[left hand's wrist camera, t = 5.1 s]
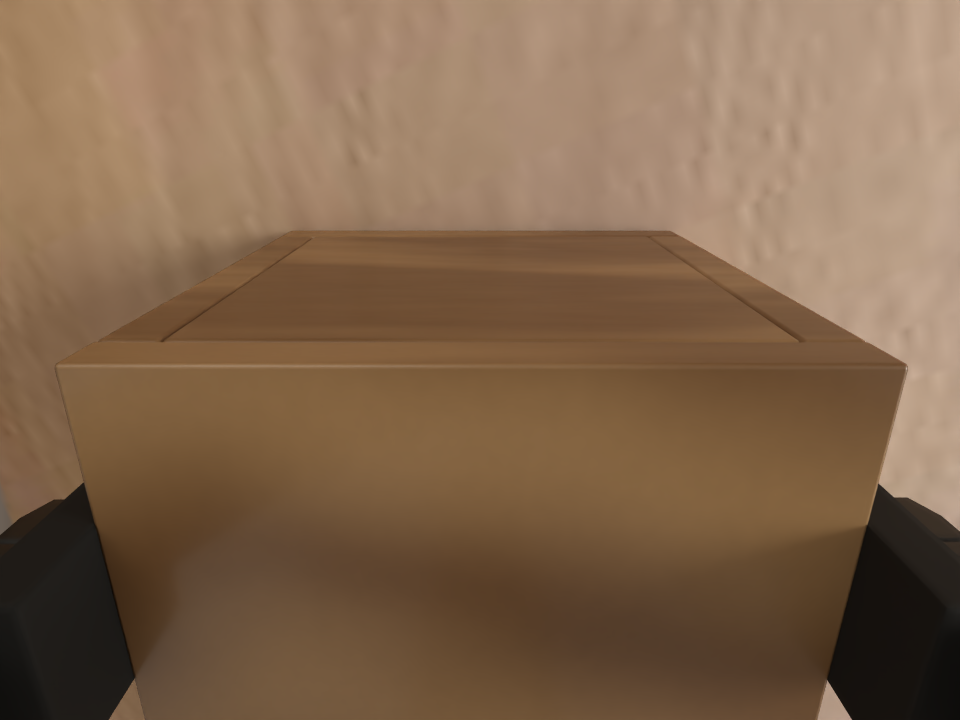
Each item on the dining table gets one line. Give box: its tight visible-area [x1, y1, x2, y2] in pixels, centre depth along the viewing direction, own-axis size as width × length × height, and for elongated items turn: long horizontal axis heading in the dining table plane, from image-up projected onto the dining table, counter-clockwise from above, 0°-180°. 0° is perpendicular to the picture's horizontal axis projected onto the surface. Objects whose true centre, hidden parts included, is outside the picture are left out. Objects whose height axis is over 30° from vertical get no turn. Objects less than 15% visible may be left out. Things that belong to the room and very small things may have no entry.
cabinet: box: [55, 231, 908, 720], centre depth 15 cm, size 19×10×10 cm, turn 0°
